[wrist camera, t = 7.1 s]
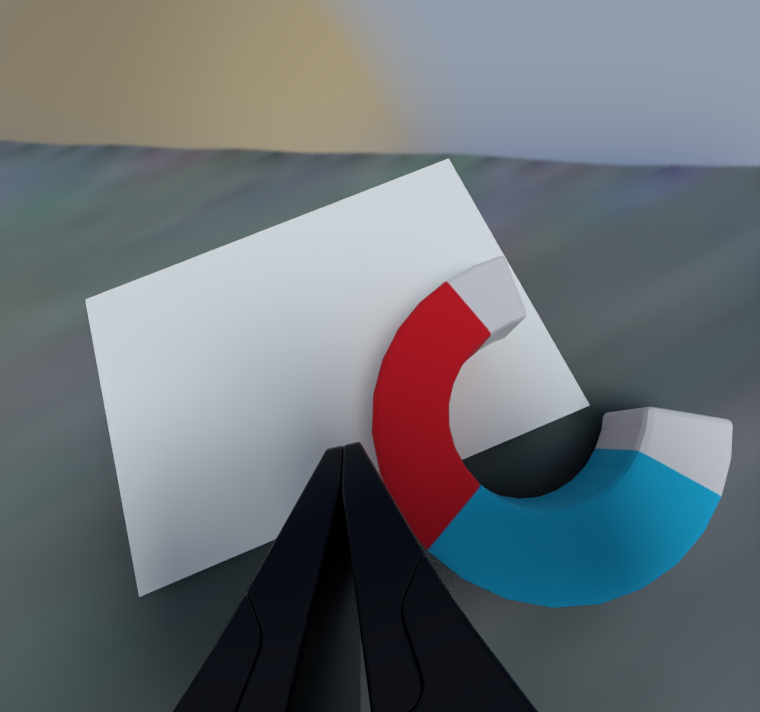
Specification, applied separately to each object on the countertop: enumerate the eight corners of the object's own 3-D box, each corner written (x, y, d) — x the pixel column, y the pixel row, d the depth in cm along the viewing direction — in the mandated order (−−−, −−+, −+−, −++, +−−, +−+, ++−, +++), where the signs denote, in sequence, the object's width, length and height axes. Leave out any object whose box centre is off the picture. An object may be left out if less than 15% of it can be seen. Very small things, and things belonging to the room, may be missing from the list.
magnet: (544, 653, 12) (696, 444, 13) (584, 713, 9) (768, 445, 11) (319, 427, 15) (467, 270, 16) (301, 424, 12) (480, 236, 13)
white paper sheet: (583, 406, 15) (590, 405, 14) (148, 591, 14) (139, 597, 13) (447, 166, 18) (448, 158, 18) (94, 303, 17) (85, 299, 17)
